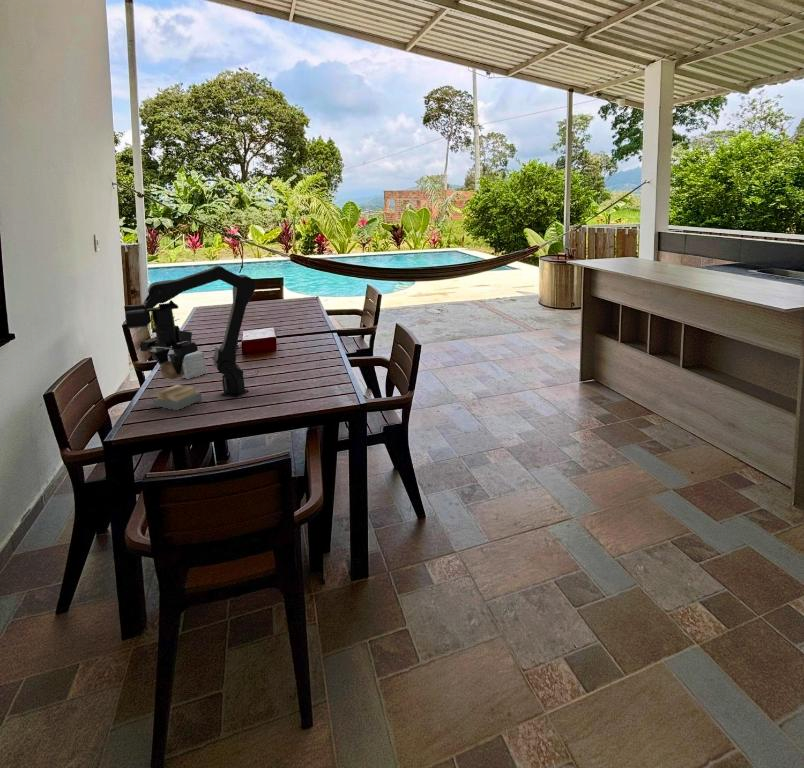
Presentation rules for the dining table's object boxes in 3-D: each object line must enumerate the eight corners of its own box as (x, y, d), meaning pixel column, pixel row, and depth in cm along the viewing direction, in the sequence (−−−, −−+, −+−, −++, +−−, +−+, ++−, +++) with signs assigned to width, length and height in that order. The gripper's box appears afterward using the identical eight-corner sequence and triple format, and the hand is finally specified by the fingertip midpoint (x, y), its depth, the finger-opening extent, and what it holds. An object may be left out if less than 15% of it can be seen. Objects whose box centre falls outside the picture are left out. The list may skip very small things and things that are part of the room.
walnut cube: (184, 374, 174) (182, 361, 173) (173, 379, 170) (170, 365, 169) (173, 373, 176) (171, 360, 175) (162, 377, 172) (160, 363, 171)
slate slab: (201, 400, 178) (200, 392, 178) (177, 410, 170) (176, 403, 169) (178, 396, 182) (177, 389, 182) (154, 406, 174) (152, 399, 173)
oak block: (195, 393, 177) (194, 387, 176) (176, 401, 170) (175, 395, 170) (177, 390, 180) (176, 384, 180) (157, 398, 174) (156, 392, 173)
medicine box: (200, 372, 208) (197, 350, 205) (207, 374, 205) (203, 351, 202) (181, 377, 202) (177, 355, 199) (187, 380, 199) (184, 356, 197)
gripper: (207, 320, 171) (214, 368, 176) (163, 317, 179) (171, 363, 184) (179, 328, 161) (188, 379, 166) (134, 324, 169) (143, 373, 174)
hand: (173, 373), depth 173 cm, fingers closed on walnut cube, 4 cm apart
